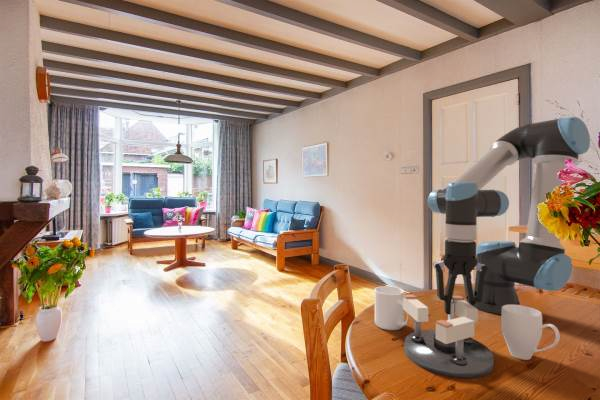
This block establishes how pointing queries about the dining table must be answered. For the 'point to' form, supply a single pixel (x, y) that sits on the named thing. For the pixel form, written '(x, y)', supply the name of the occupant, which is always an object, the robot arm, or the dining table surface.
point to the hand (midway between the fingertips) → (458, 326)
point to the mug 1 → (389, 308)
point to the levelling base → (449, 356)
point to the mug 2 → (524, 330)
